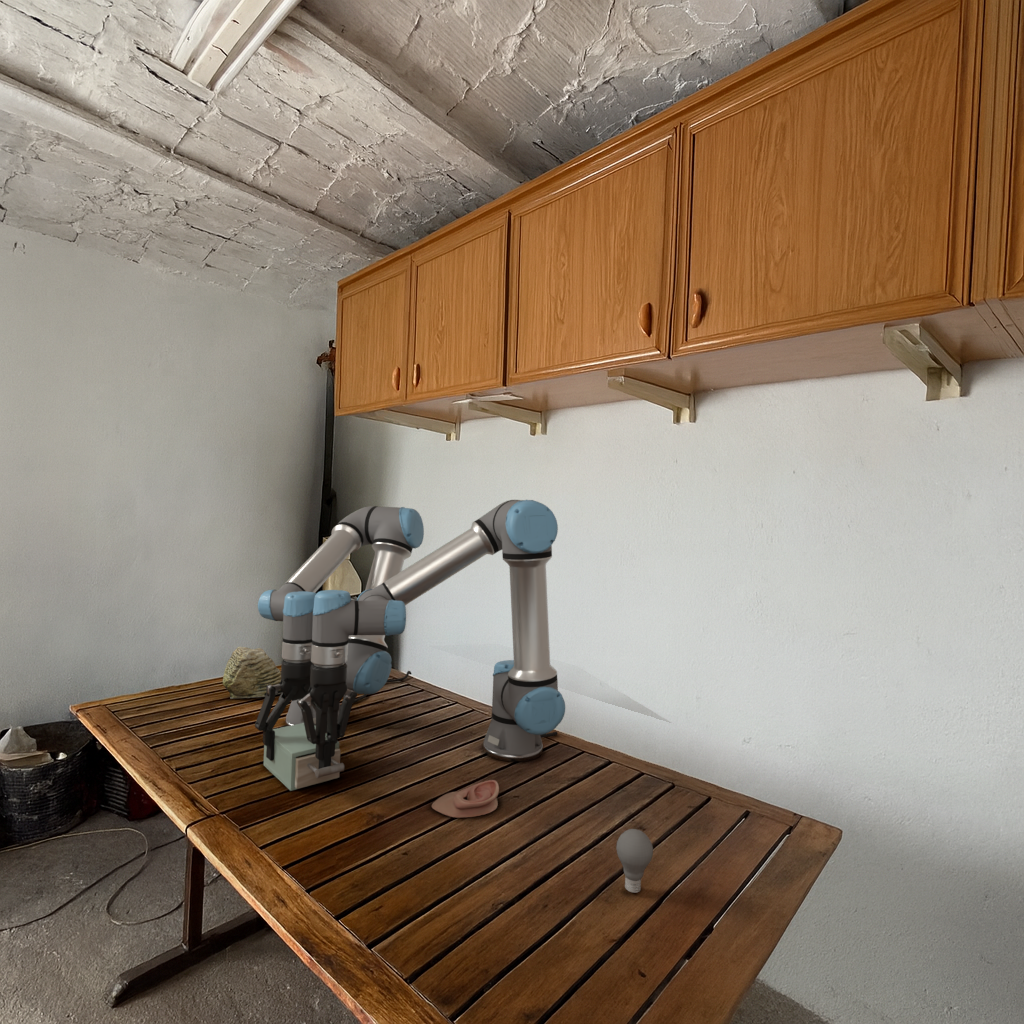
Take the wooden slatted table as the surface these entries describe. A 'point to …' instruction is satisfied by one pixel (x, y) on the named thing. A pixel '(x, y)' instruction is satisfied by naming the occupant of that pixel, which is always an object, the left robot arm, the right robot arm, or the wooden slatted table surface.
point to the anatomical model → (469, 800)
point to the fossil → (250, 673)
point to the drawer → (316, 770)
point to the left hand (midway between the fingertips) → (295, 752)
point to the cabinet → (289, 753)
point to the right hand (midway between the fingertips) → (324, 772)
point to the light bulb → (634, 857)
